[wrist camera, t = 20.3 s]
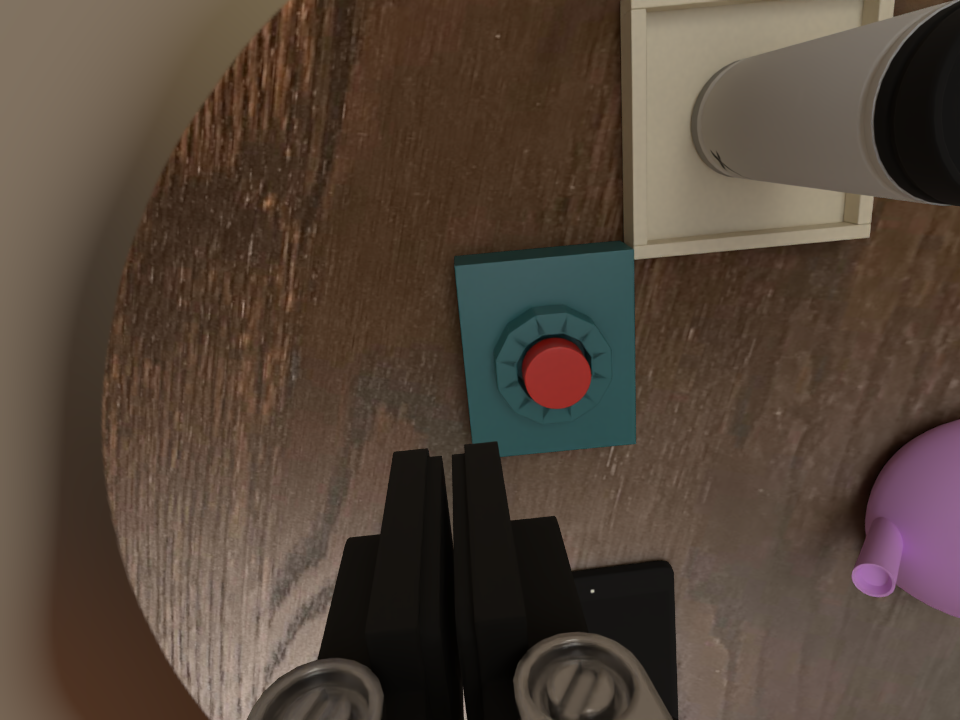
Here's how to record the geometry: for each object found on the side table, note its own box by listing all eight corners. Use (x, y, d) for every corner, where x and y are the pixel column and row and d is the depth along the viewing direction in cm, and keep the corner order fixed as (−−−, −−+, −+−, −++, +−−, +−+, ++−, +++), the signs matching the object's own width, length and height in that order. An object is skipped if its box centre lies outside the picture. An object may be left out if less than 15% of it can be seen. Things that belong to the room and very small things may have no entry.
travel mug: (693, 192, 37) (938, 247, 18) (685, 69, 35) (954, -13, 16) (801, 173, 37) (1158, 208, 18) (800, 48, 35) (1204, -57, 16)
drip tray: (619, 0, 35) (630, -9, 33) (871, -23, 35) (899, -33, 33) (623, 253, 39) (633, 260, 37) (847, 232, 39) (869, 237, 37)
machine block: (454, 256, 39) (454, 272, 34) (620, 240, 39) (643, 254, 34) (472, 437, 43) (474, 474, 38) (623, 422, 43) (644, 457, 38)
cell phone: (566, 760, 52) (568, 771, 51) (546, 573, 46) (548, 582, 45) (675, 746, 52) (679, 757, 51) (669, 558, 46) (673, 566, 45)
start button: (519, 340, 36) (522, 349, 34) (584, 334, 36) (590, 343, 34) (523, 400, 37) (527, 412, 35) (586, 394, 37) (592, 406, 35)
